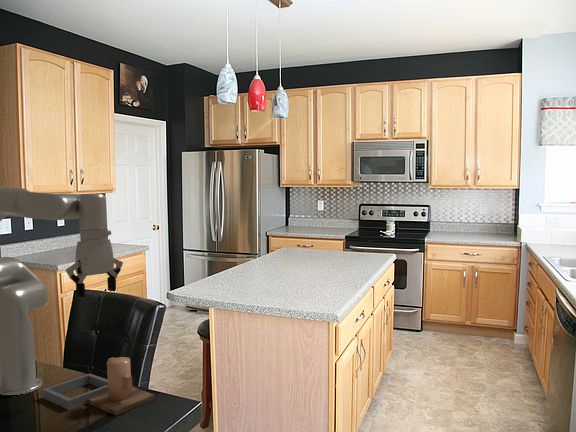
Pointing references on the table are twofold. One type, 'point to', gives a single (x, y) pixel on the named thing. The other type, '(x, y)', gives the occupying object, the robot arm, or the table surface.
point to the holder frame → (55, 391)
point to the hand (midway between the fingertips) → (97, 293)
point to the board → (120, 406)
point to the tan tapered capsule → (119, 378)
